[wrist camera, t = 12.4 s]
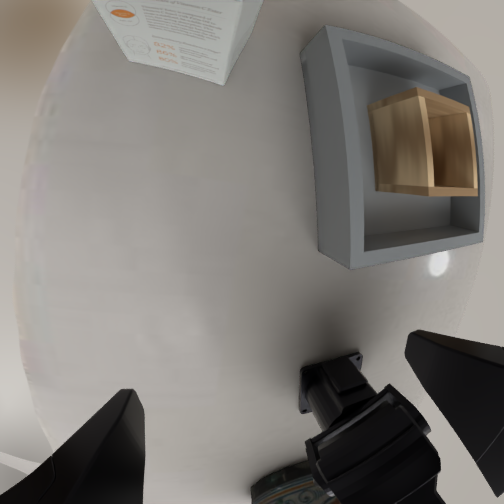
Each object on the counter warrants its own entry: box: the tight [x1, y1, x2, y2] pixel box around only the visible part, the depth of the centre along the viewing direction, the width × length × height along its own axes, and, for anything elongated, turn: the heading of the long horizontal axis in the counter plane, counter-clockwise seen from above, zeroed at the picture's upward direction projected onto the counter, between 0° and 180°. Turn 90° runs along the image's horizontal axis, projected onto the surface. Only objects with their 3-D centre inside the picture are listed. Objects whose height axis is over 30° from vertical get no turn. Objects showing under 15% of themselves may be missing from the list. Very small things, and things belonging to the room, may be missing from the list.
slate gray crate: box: [300, 25, 485, 270], centre depth 17 cm, size 16×16×5 cm
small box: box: [92, 0, 263, 85], centre depth 10 cm, size 8×6×10 cm
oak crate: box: [367, 87, 478, 197], centre depth 16 cm, size 7×6×6 cm
